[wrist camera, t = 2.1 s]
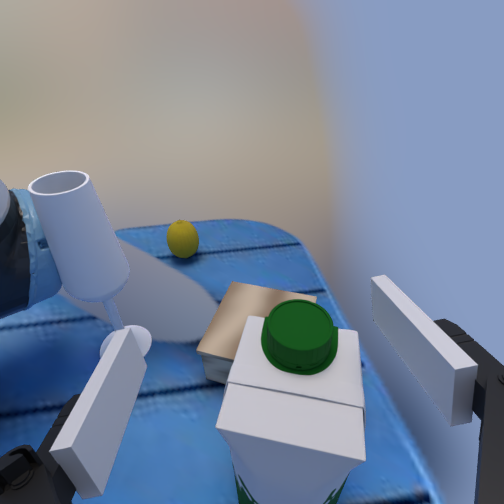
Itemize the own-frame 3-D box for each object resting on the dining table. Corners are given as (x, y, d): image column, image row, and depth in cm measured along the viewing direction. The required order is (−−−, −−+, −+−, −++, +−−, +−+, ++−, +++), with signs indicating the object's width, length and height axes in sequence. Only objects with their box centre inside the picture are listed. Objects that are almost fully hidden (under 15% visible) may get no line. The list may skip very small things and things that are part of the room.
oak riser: (203, 380, 37) (196, 350, 34) (235, 311, 46) (232, 281, 42) (298, 406, 34) (301, 376, 31) (312, 327, 43) (316, 296, 40)
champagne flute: (143, 368, 39) (80, 202, 24) (90, 367, 39) (-6, 200, 24) (157, 325, 44) (112, 167, 29) (111, 324, 44) (42, 165, 29)
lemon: (207, 253, 58) (201, 216, 53) (189, 270, 54) (181, 232, 49) (184, 245, 60) (177, 209, 55) (165, 261, 56) (155, 224, 52)
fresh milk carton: (333, 440, 31) (373, 303, 20) (332, 561, 24) (393, 464, 12) (250, 422, 33) (239, 286, 21) (227, 530, 26) (191, 419, 14)
